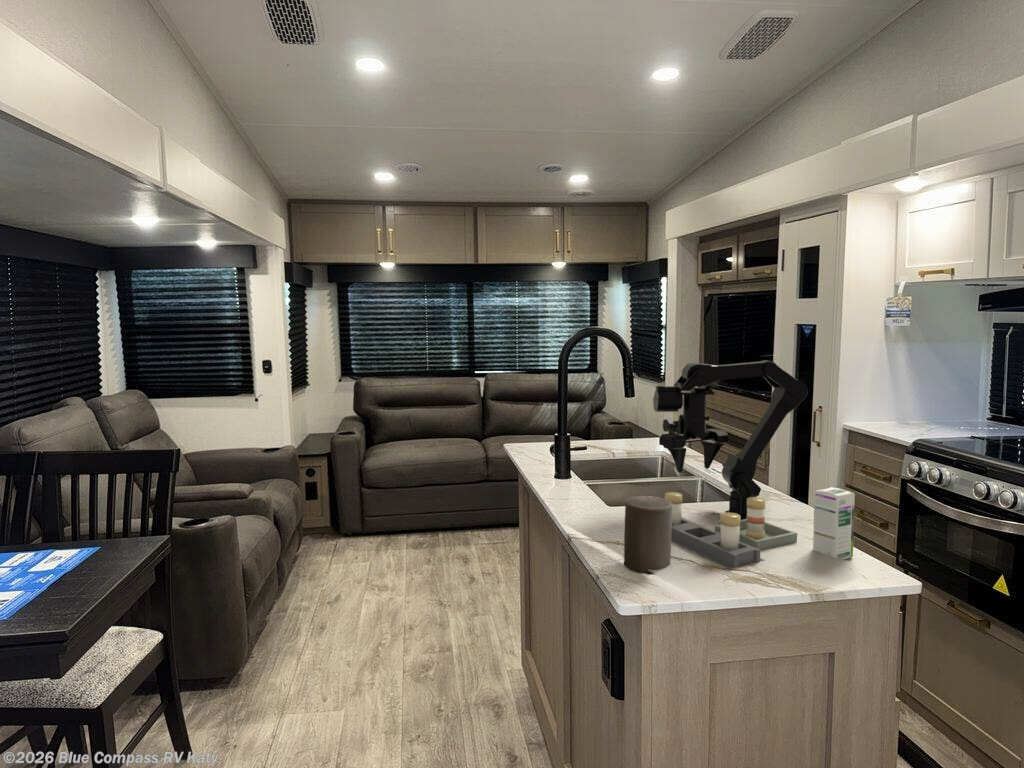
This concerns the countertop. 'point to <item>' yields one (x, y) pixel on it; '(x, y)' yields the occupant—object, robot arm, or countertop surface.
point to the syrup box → (834, 522)
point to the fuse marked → (755, 518)
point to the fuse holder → (712, 545)
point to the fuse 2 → (729, 531)
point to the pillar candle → (647, 533)
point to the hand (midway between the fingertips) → (693, 470)
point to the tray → (772, 536)
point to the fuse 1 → (675, 506)
